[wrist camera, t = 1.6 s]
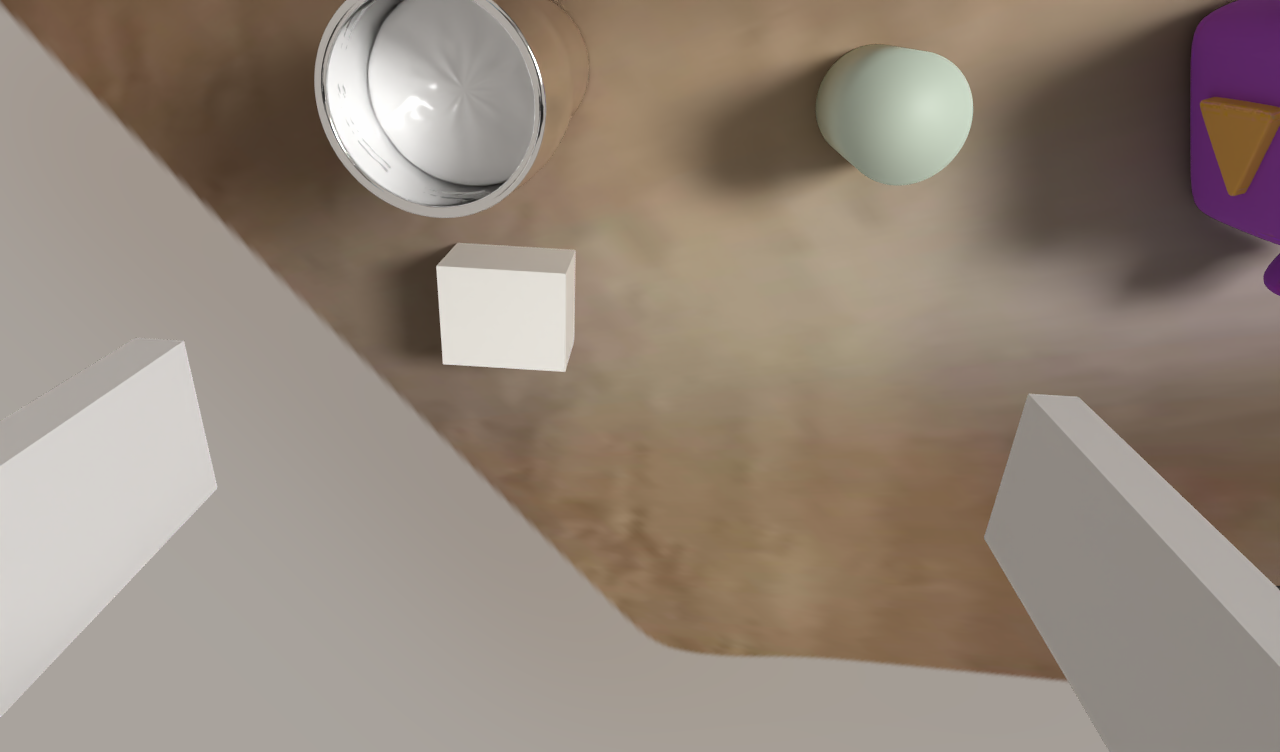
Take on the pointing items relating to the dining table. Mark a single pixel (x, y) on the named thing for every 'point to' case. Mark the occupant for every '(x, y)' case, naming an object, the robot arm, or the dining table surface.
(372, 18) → the beer glass
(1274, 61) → the toy camera
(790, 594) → the dining table surface
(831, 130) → the sage cylinder
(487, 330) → the off-white brick
